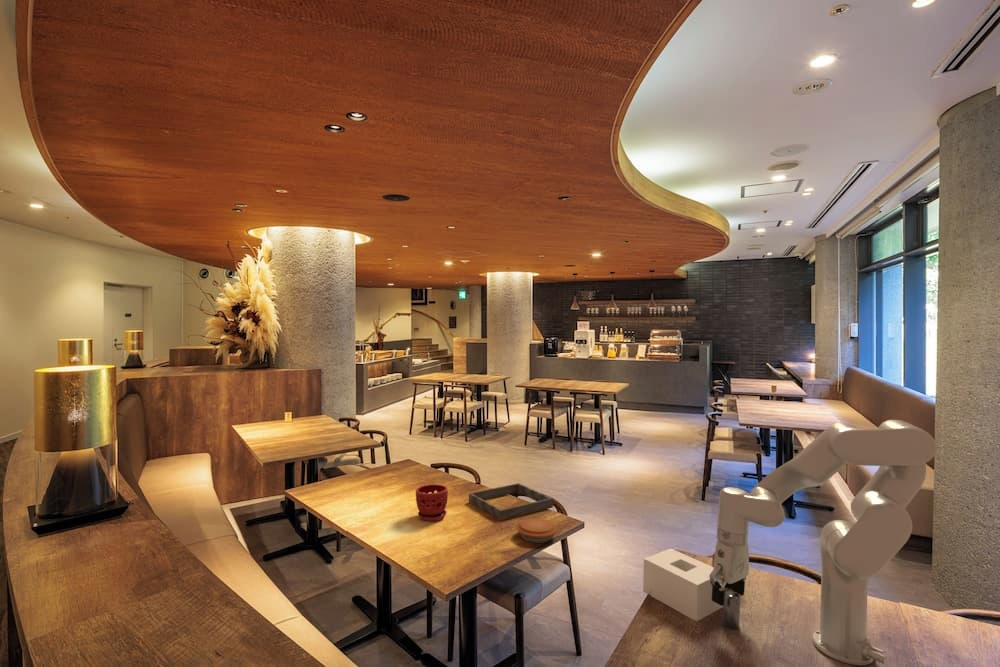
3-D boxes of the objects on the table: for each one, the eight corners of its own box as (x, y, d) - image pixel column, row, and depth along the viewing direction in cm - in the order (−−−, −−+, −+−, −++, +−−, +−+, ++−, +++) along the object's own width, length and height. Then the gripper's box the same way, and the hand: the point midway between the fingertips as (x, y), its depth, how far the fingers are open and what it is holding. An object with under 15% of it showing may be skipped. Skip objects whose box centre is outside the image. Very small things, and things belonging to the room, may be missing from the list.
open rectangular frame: (552, 507, 217) (552, 498, 217) (500, 520, 201) (500, 511, 201) (518, 491, 237) (518, 483, 237) (468, 502, 221) (469, 493, 221)
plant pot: (450, 512, 209) (450, 484, 209) (443, 524, 196) (444, 494, 196) (420, 510, 211) (420, 482, 211) (411, 522, 198) (412, 492, 197)
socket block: (723, 606, 141) (724, 572, 141) (696, 621, 134) (697, 585, 134) (670, 579, 156) (670, 548, 156) (643, 591, 149) (643, 558, 148)
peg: (742, 626, 132) (743, 596, 132) (734, 631, 130) (734, 601, 130) (728, 618, 135) (728, 590, 135) (719, 623, 133) (720, 594, 133)
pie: (555, 547, 177) (555, 534, 177) (512, 543, 181) (513, 529, 180) (558, 530, 193) (558, 517, 192) (519, 526, 196) (519, 514, 196)
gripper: (727, 548, 124) (723, 614, 125) (762, 534, 134) (758, 596, 135) (700, 536, 130) (696, 600, 131) (736, 524, 140) (732, 583, 141)
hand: (727, 598), depth 133 cm, fingers open, 9 cm apart
